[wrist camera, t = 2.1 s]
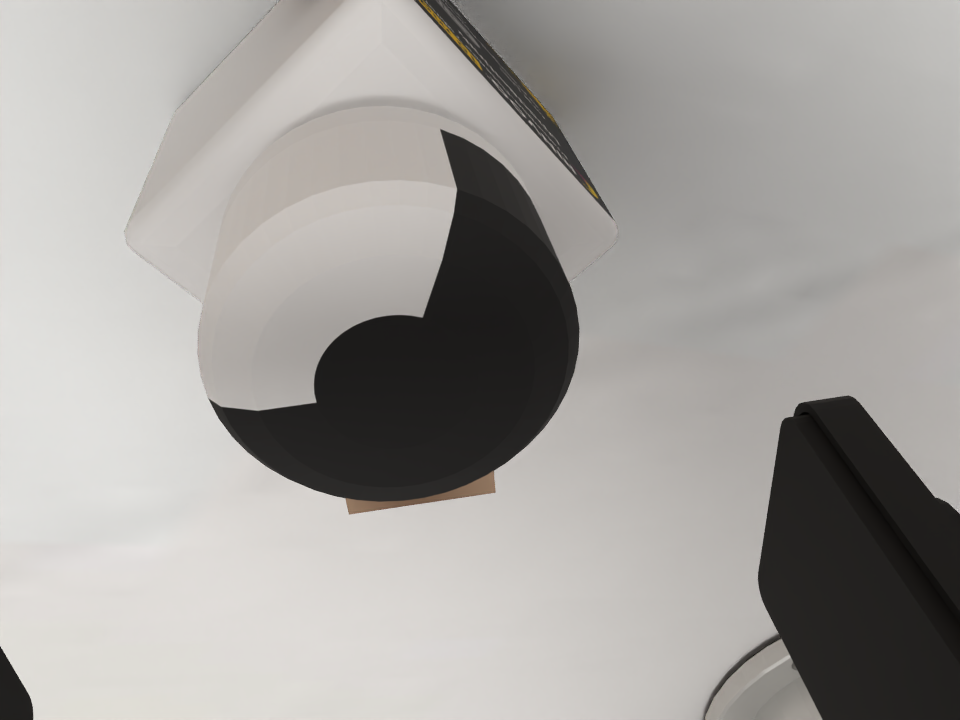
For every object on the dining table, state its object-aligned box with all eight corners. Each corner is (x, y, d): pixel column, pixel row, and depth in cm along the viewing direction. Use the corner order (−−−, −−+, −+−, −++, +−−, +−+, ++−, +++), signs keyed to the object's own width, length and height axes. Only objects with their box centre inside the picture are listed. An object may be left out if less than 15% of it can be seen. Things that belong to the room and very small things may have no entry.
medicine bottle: (558, 122, 25) (711, 376, 15) (370, 289, 27) (394, 611, 17) (367, -95, 21) (399, 48, 11) (167, 117, 23) (46, 395, 13)
